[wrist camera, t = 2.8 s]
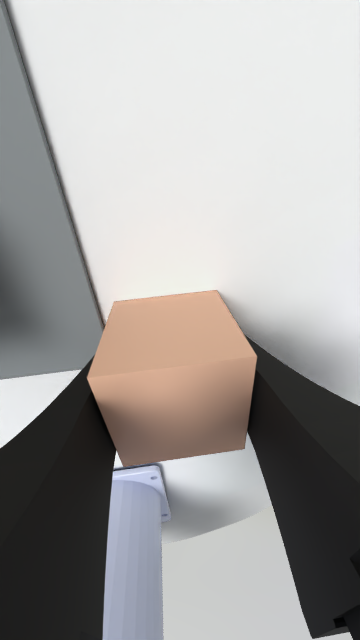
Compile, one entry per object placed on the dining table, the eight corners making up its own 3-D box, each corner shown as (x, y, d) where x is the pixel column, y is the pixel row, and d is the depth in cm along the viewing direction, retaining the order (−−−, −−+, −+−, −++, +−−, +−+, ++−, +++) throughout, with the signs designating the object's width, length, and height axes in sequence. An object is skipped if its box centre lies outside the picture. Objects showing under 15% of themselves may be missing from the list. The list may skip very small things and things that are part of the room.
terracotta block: (215, 366, 12) (244, 448, 8) (133, 376, 12) (123, 467, 8) (216, 290, 10) (257, 356, 6) (113, 301, 10) (87, 378, 6)
